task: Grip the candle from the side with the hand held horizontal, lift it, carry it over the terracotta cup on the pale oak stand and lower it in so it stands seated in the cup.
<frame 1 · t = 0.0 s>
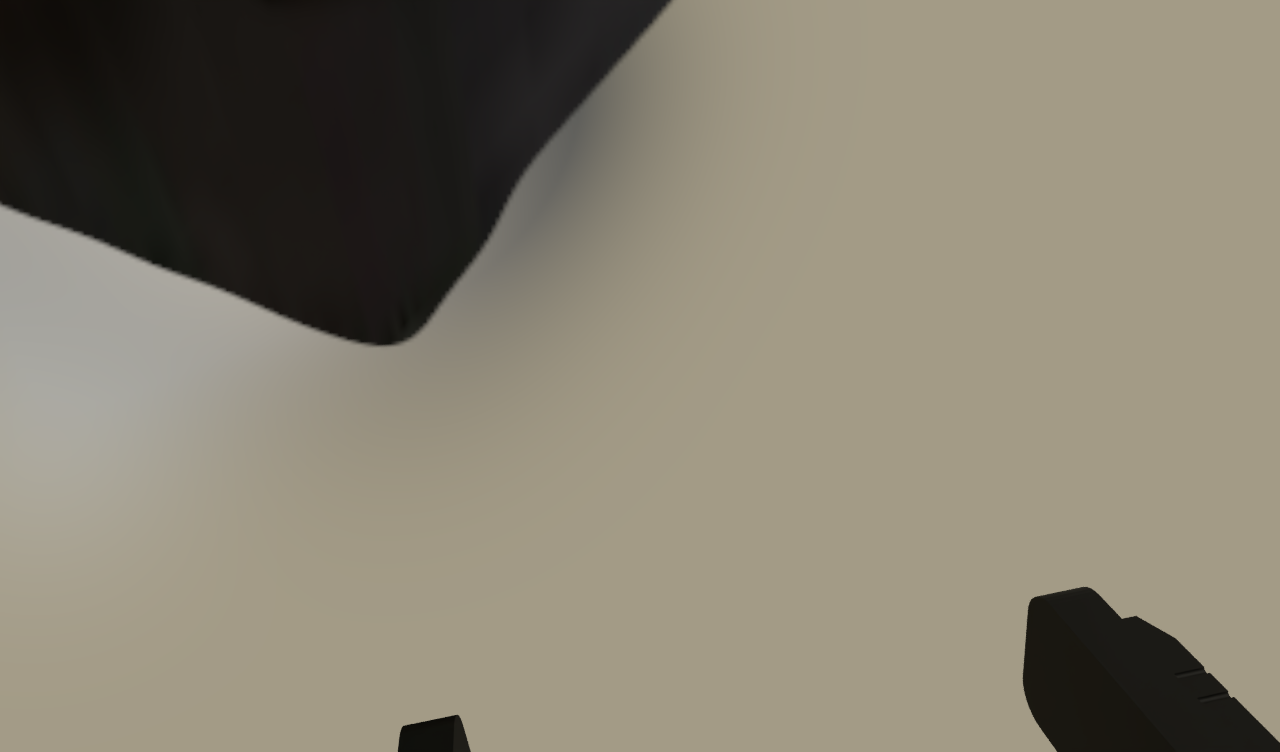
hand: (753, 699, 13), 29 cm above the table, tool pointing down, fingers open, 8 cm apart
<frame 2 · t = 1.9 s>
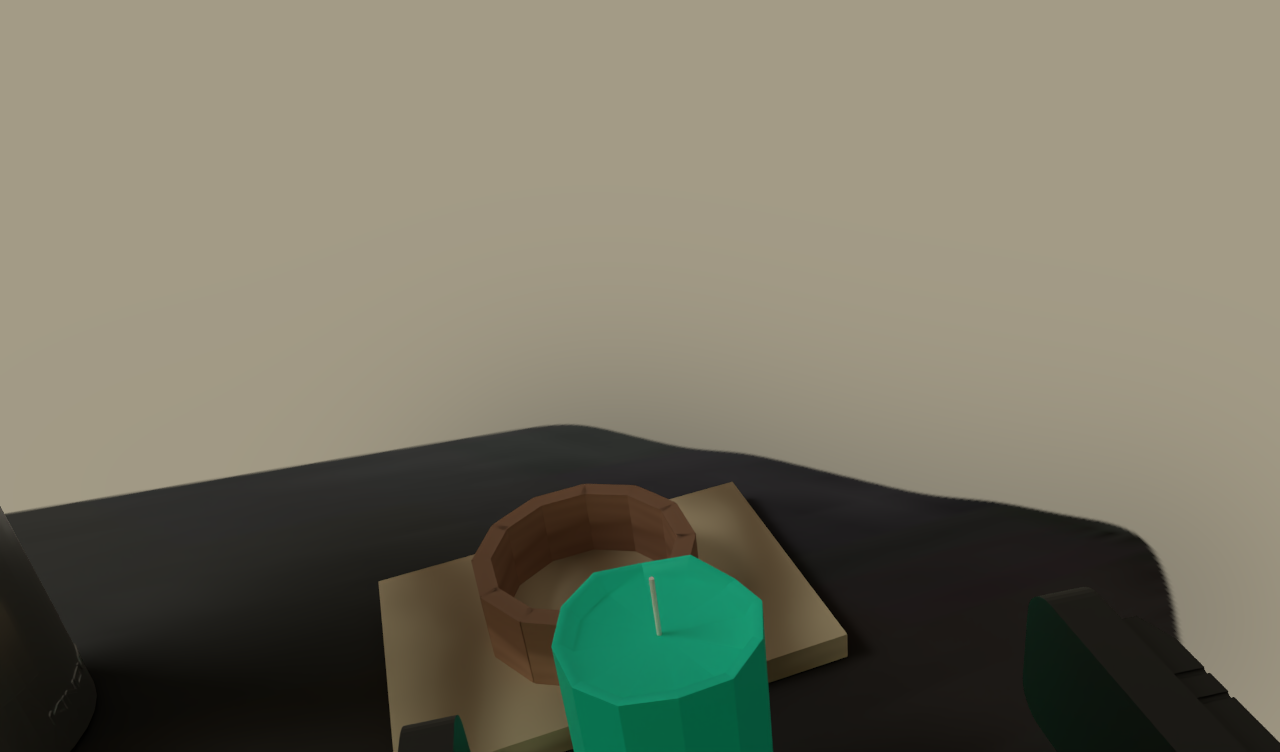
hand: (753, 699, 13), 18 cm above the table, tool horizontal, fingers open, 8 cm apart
cup stand: (597, 626, 41), on the table
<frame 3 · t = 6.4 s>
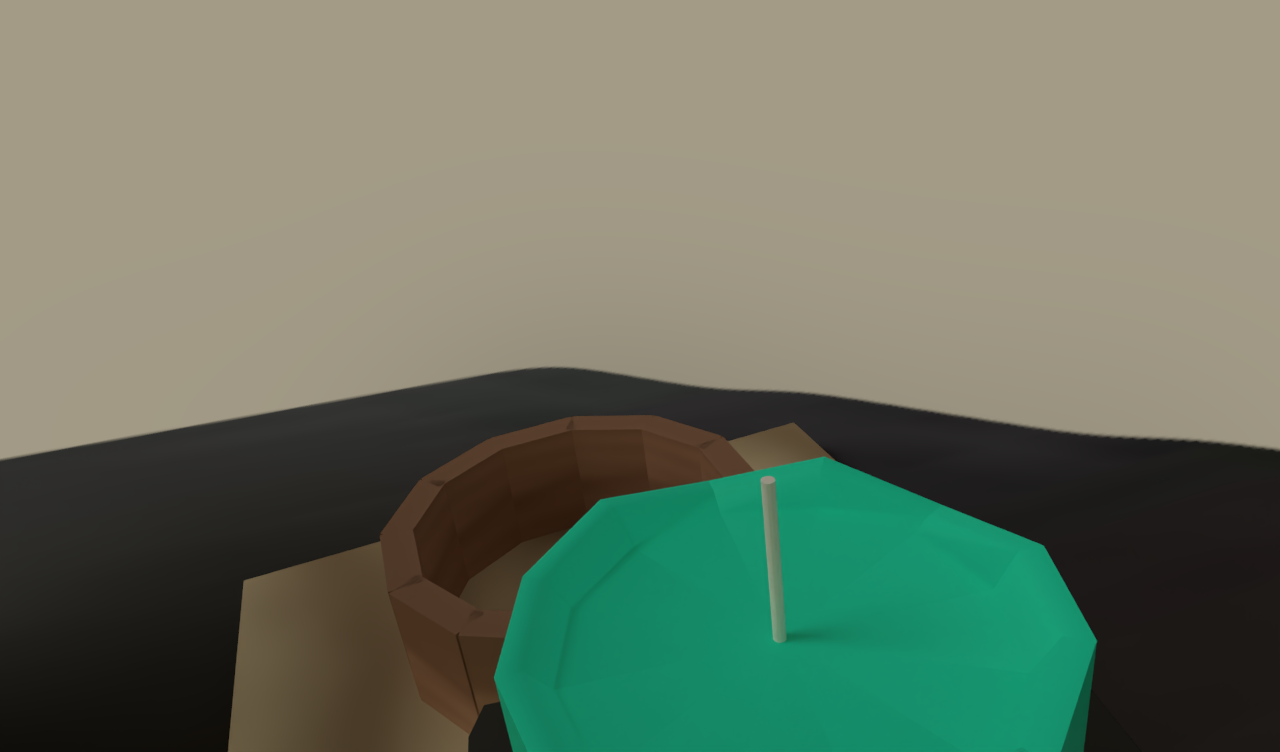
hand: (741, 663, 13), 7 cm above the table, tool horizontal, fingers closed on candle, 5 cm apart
cup stand: (597, 644, 25), on the table
when the fingers open (9 cm above the table, at t = 11.2 s): candle stays where it is, resting on cup stand.
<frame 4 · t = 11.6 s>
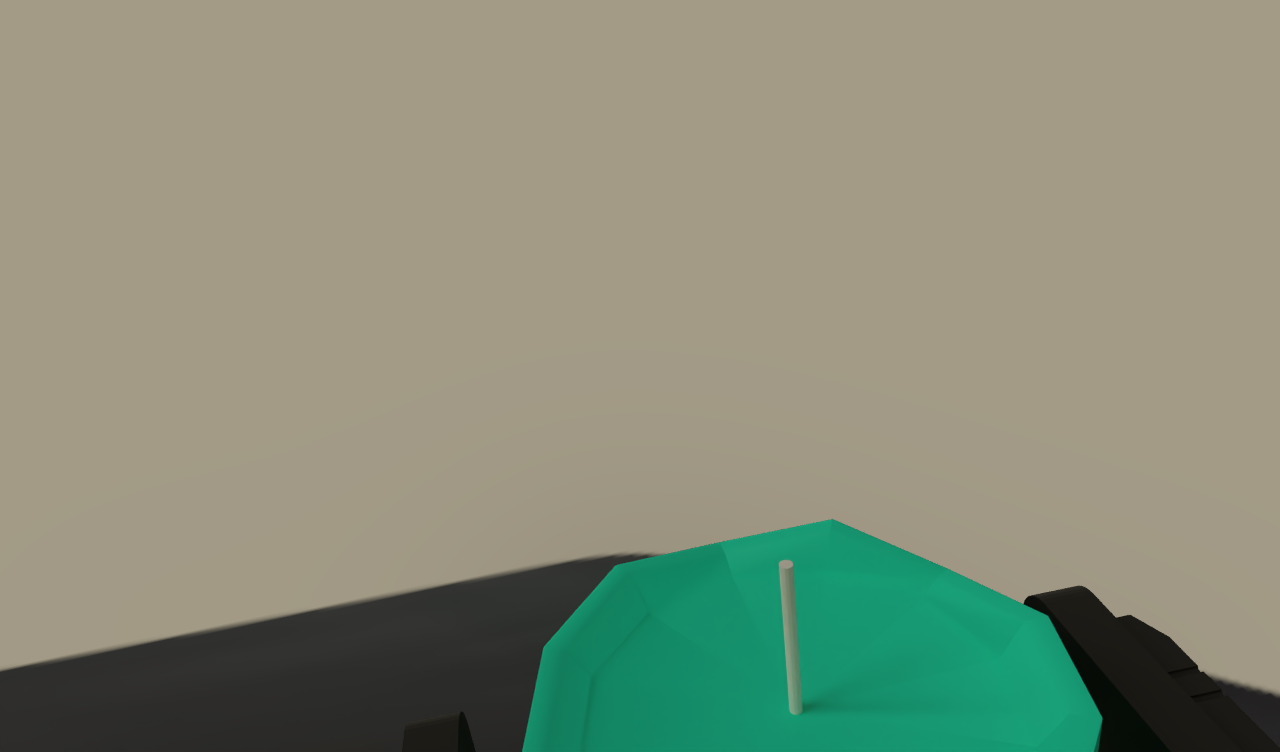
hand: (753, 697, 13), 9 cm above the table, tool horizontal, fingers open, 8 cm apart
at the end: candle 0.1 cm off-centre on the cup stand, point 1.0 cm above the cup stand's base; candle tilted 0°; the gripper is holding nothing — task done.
